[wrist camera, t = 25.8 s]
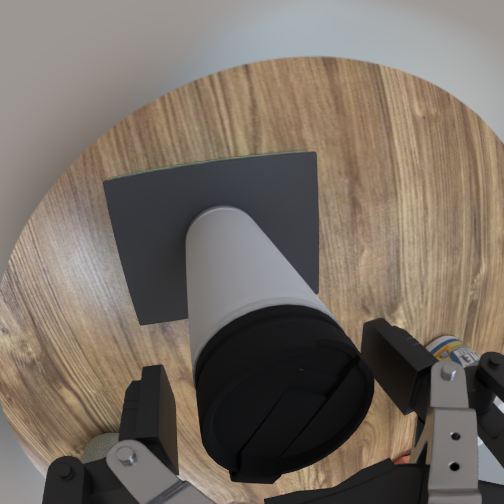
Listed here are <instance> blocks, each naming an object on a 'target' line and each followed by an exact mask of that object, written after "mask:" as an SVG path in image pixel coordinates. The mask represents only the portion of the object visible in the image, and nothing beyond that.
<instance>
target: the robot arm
mask: <svg viewBox="0 0 504 504" xmlns="http://www.w3.org/2000/svg"><path fill="white" fill-rule="evenodd" d="M361 355H362V356H363V358H364V359H365V360H366V362H367V363H368V365H369V366H370V367H371V368H372V372H373V376H374V378H375V380H376V381H377V382H378V383H379V385H380V386H381V387H382V388H383V390H384V391H385V392H386V393H387V395H388V396H389V397H390V398H391V400H392V401H393V402H394V403H395V405H396V406H397V407H398V408H399V410H400V411H401V412H402V413H403V415H404V416H405V415H407V414H409V413H411V412H413V411H415V412H416V414H417V416H416V419H415V426H414V435H413V442H412V449H411V455H410V459H409V462H408V463H401V464H394V463H393V462H392V460H391V459H390V458H388V459H386V460H383V461H381V462H379V463H376V464H374V465H372V466H369V467H367V468H364V469H362V470H360V471H359V472H357V473H356V474H354V475H353V476H351V477H350V478H348V479H347V480H345V481H343V482H342V483H340V484H339V485H337V486H335V487H332V488H325V489H316V490H304V491H295V492H292V493H288V494H284V495H280V496H275V497H271V498H267V499H264V503H265V504H504V485H500V484H496V483H491V482H486V481H481V480H478V437H479V438H480V439H481V440H482V441H483V443H484V444H485V445H486V446H487V447H488V449H489V450H490V451H491V453H492V454H493V455H494V456H495V458H496V459H497V460H498V462H499V463H500V464H501V465H502V467H503V468H504V413H503V412H502V411H501V410H500V409H499V408H498V407H497V406H496V405H495V404H494V403H493V402H494V400H495V398H496V396H497V397H498V398H499V399H500V400H501V401H502V402H503V403H504V355H502V354H500V353H497V352H486V353H484V354H483V355H482V356H481V357H480V360H479V363H478V365H474V366H469V367H464V368H463V367H462V366H461V365H460V364H458V363H456V362H454V361H449V360H443V361H439V360H438V359H437V358H436V357H435V356H434V355H433V354H431V353H430V352H429V351H428V350H427V349H426V348H425V347H424V346H423V345H421V344H419V342H418V341H417V340H416V339H415V338H413V337H412V336H411V335H410V334H409V333H408V332H407V331H406V330H404V329H401V328H399V327H397V326H391V325H390V324H389V323H388V322H387V321H386V320H385V319H383V318H378V319H375V320H371V321H368V322H365V323H364V325H363V334H362V345H361ZM176 475H179V467H178V450H177V426H176V404H175V399H174V395H173V392H172V389H171V386H170V383H169V380H168V377H167V374H166V371H165V369H164V366H163V365H162V364H161V365H153V366H145V367H143V369H142V377H141V380H138V381H132V383H131V384H130V385H129V387H128V388H127V390H126V392H125V398H124V404H123V411H122V417H121V424H120V431H119V438H118V443H116V444H114V445H113V446H112V447H111V448H110V449H109V450H108V452H107V455H106V457H104V458H102V459H99V460H95V461H92V462H88V463H84V464H82V462H81V461H80V460H79V459H77V458H75V457H72V456H63V457H60V458H58V459H56V460H55V461H53V462H52V463H51V465H50V466H49V468H48V471H47V477H46V482H45V489H44V494H43V501H42V504H216V503H215V502H214V501H212V500H211V499H210V498H208V497H207V496H206V495H205V494H203V493H202V492H201V491H200V490H198V489H197V488H196V487H195V486H193V485H192V484H191V483H189V482H188V481H182V480H181V479H179V478H178V477H177V476H176Z"/></svg>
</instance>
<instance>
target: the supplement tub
mask: <svg viewBox="0 0 504 504" xmlns="http://www.w3.org/2000/svg"><path fill="white" fill-rule="evenodd" d="M425 348H426V349H427V350H428V351H429V352H430V353H431V354H433V355H434V356H435V357H436V358H437V359H438V360H439V361H443V360H449V361H454V362H456V363H458V364H460V365H461V366H462V367H463V368H464V367H469V366H474V365H478V363H479V360H480V356H479V355H478V354H477V353H475V352H474V351H473V350H472V349H470V348H469V347H468V346H467V345H465V344H464V343H463V342H462V341H460V340H459V339H458V338H456V337H454V336H448V335H447V336H442V337H440V338H438V339H436V340H434V341H433V342H431V343H430V344H429V345H427V346H426V347H425ZM493 403H494V404H495V405H496V406H497V407H498V408H499V409H500V410H501V411H502V412H503V413H504V403H503V402H502V401H501V400H500V399H499V398H498V397H497V396H496V398H495V400H494V402H493ZM481 444H483V441H482V440H481V439H480V438H479V437H478V446H480V445H481Z"/></svg>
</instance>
